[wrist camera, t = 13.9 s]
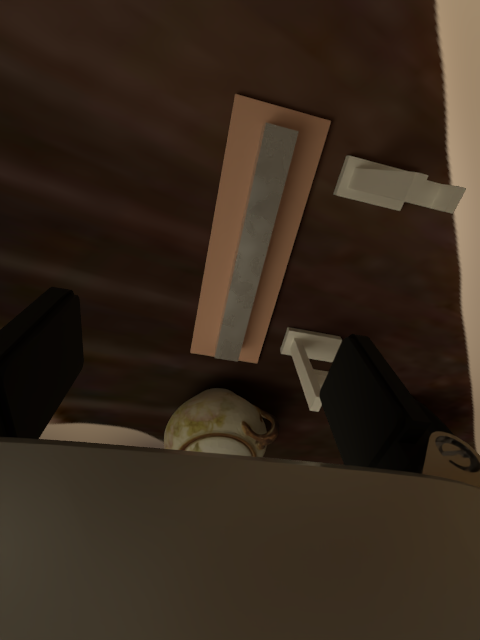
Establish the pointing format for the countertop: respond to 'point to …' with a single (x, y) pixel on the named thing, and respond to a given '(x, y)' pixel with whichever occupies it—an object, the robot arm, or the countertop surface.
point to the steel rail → (254, 235)
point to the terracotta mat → (230, 214)
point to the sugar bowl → (220, 425)
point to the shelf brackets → (378, 189)
